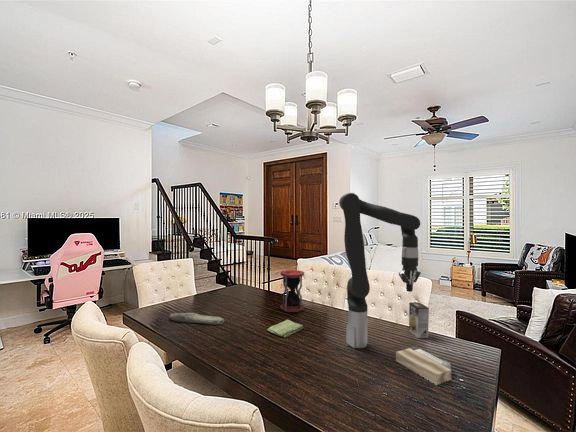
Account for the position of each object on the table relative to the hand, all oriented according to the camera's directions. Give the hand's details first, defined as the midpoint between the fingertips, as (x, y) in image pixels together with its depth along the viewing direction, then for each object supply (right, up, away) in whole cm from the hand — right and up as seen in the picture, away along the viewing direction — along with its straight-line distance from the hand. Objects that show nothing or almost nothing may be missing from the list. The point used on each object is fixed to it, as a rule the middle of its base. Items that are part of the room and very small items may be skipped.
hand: (409, 291), depth 140 cm
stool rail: (-4, -27, -22) cm, 35 cm away
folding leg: (+1, -27, -17) cm, 32 cm away
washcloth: (-61, -27, +18) cm, 69 cm away
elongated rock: (-115, -26, +30) cm, 122 cm away
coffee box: (+11, -27, +14) cm, 33 cm away
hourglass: (-57, -27, +55) cm, 84 cm away
